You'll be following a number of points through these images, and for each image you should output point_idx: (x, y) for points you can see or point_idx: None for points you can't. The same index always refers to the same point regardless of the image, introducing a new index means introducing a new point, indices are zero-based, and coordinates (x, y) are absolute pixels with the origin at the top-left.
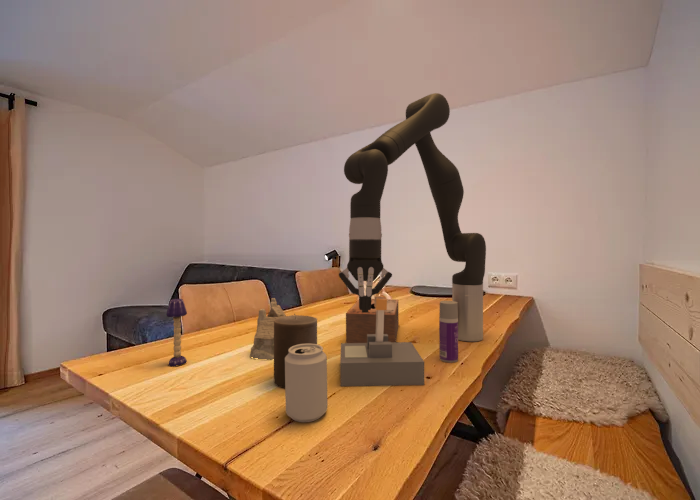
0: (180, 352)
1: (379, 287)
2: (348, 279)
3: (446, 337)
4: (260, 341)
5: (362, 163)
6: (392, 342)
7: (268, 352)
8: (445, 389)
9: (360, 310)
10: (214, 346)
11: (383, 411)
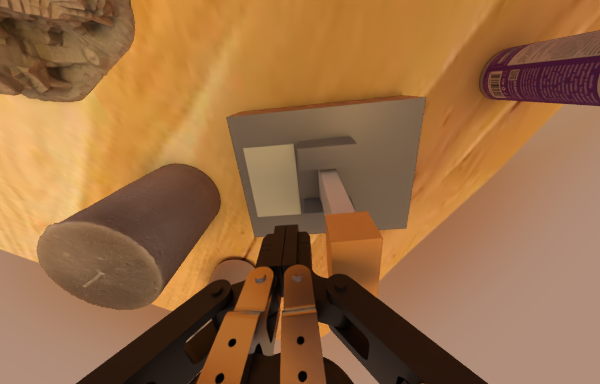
0: None
1: (359, 341)
2: (160, 381)
3: (545, 100)
4: None
5: None
6: (370, 103)
7: (49, 91)
8: (417, 218)
9: None
10: None
11: (321, 267)
